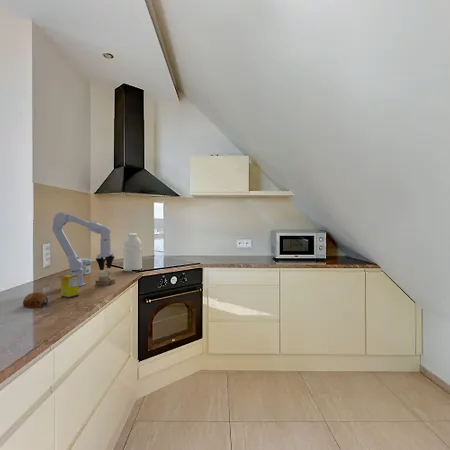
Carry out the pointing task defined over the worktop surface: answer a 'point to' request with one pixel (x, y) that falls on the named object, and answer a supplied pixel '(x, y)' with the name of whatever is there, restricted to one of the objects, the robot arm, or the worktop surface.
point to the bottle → (132, 253)
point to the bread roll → (35, 300)
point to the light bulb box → (86, 265)
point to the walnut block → (105, 282)
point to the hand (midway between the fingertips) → (105, 268)
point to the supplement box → (69, 286)
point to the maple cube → (104, 275)
